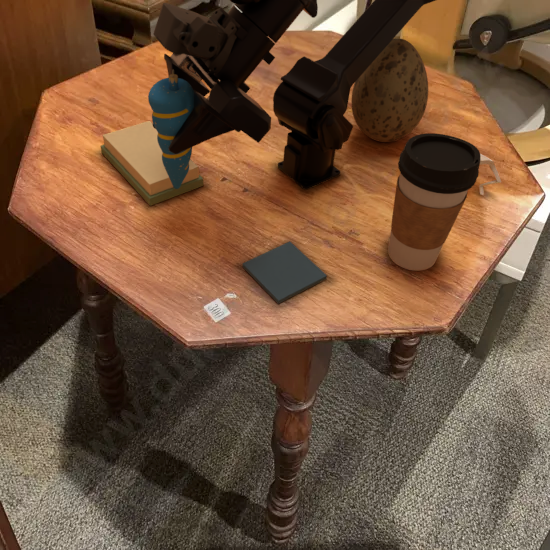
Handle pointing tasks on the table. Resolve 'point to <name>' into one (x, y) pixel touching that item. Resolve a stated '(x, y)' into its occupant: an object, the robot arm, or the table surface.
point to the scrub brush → (145, 163)
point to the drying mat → (284, 272)
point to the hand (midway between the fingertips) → (163, 139)
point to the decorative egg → (391, 93)
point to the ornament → (172, 122)
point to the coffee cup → (429, 196)
